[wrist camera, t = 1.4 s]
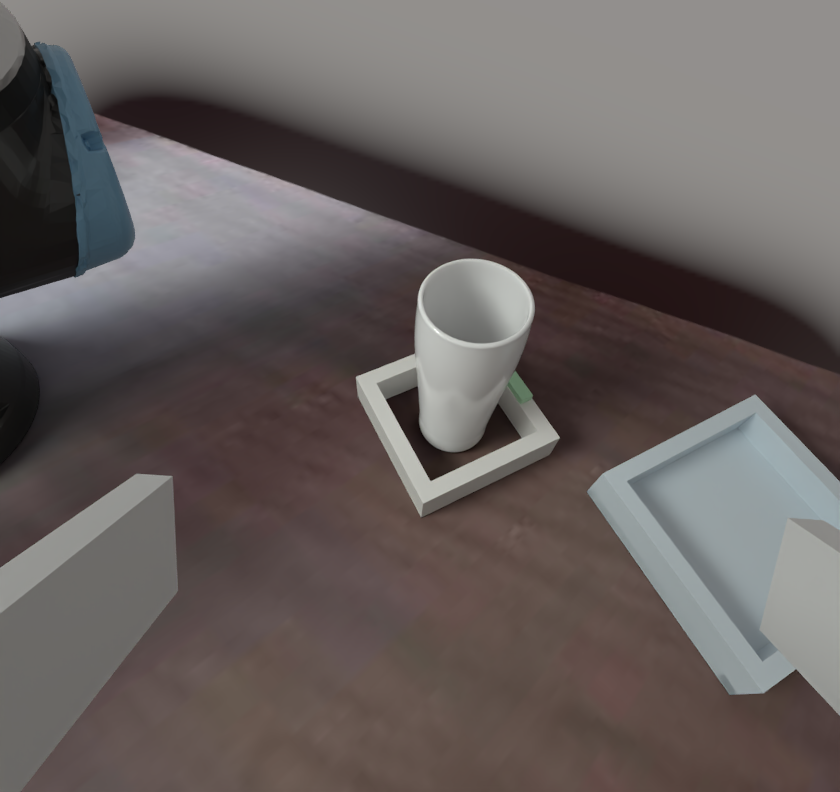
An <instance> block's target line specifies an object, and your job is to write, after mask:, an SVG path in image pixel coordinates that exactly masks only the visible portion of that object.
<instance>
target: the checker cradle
mask: <svg viewBox="0 0 840 792" xmlns="http://www.w3.org/2000/svg"><path fill="white" fill-rule="evenodd" d="M356 383H357V392H358V398H359V400H360V401H361V403H362V405H363V407H364V409H365V411H366V413H367V415H368V417H369V419H370V421H371V423H372V424H373V426H374V428H375V430H376V432H377V434H378V436H379V438H380V440H381V442H382V444H383V446H384V447H385V449H386V451H387V453H388V455H389V457H390V459H391V461H392V463H393V465H394V467H395V469H396V470H397V472H398V474H399V476H400V478H401V480H402V482H403V484H404V486H405V488H406V490H407V491H408V493H409V495H410V497H411V499H412V501H413V503H414V505H415V507H416V509H417V511H418V513H419V514H420V516H421V517H424V516H426V515H428V514H430V513H432V512H434V511H436V510H438V509H440V508H442V507H444V506H446V505H448V504H450V503H452V502H454V501H456V500H458V499H460V498H462V497H464V496H466V495H469V494H471V493H473V492H475V491H477V490H479V489H481V488H483V487H485V486H487V485H489V484H491V483H493V482H495V481H497V480H499V479H501V478H503V477H505V476H507V475H509V474H511V473H513V472H516V471H518V470H520V469H522V468H524V467H526V466H528V465H530V464H532V463H534V462H536V461H538V460H540V459H542V458H544V457H546V456H548V455H550V453H551V452H552V450H553V449H554V447H555V445H556V444H557V442H558V440H559V439H560V437H559V436H558V434H557V433H556V431H555V430H554V429H553V427H552V426H551V424H550V423H549V422H548V420H547V419H546V417H545V416H544V415H543V413H542V412H541V410H540V409H539V408H538V406H537V405H536V403H535V402H534V401H533V399H532V397H533V395H532V393H531V392H530V390H529V389H528V388H527V386H526V385H525V383H524V382H523V381H522V379H521V378H520V377H519V375H518V374H517V372H516V371H515V372H514V373H513V375H512V377H511V379H510V381H509V383H508V385H507V387H506V389H505V391H504V392H503V394H502V396H501V398H500V400H499V402H498V404H499V405H500V407H501V408H502V410H503V411H504V413H505V414H506V416H507V417H508V419H509V420H510V422H511V423H512V425H513V426H514V427H515V429H516V430H517V432H518V433H519V435H520V436H521V438H522V439H520V440H517V441H515V442H513V443H511V444H509V445H507V446H505V447H503V448H500V449H498V450H496V451H494V452H492V453H490V454H488V455H486V456H483V457H481V458H479V459H477V460H475V461H473V462H471V463H469V464H466V465H464V466H462V467H460V468H458V469H456V470H454V471H452V472H449V473H447V474H445V475H443V476H441V477H439V478H437V479H435V480H432V481H430V480H429V478H428V476H427V474H426V472H425V471H424V469H423V467H422V465H421V463H420V461H419V460H418V458H417V456H416V454H415V452H414V451H413V449H412V447H411V445H410V443H409V442H408V440H407V438H406V436H405V434H404V432H403V431H402V429H401V427H400V425H399V423H398V422H397V420H396V418H395V416H394V414H393V412H392V411H391V409H390V407H389V405H388V403H387V402H386V400H385V399H388V398H390V397H393V396H395V395H398V394H400V393H402V392H405V391H407V390H410V389H412V388H415V387H417V386H418V383H417V372H416V360H415V354H413V355H411V356H408V357H406V358H403V359H401V360H398V361H395V362H393V363H390V364H388V365H385V366H383V367H380V368H378V369H375V370H372V371H370V372H367V373H365V374H362V375H360V376H357V377H356Z"/></svg>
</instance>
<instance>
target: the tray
mask: <svg viewBox="0 0 840 792" xmlns="http://www.w3.org/2000/svg"><path fill="white" fill-rule="evenodd" d="M587 493H588V494H589V496H590V497H591V498H592V500H593V501H594V503H595V504H596V506H597V507H598V508H599V510H600V511H601V513H602V514H603V516H604V517H605V518H606V520H607V521H608V523H609V524H610V525H611V527H612V528H613V530H614V531H615V533H616V534H617V535H618V537H619V538H620V540H621V541H622V543H623V544H624V545H625V547H626V548H627V550H628V551H629V553H630V554H631V555H632V557H633V558H634V560H635V561H636V562H637V564H638V565H639V567H640V568H641V570H642V571H643V572H644V574H645V575H646V577H647V578H648V580H649V581H650V582H651V584H652V585H653V587H654V588H655V590H656V591H657V592H658V594H659V595H660V597H661V598H662V599H663V601H664V602H665V604H666V605H667V607H668V608H669V609H670V611H671V612H672V614H673V615H674V617H675V618H676V619H677V621H678V622H679V624H680V625H681V627H682V628H683V629H684V631H685V632H686V634H687V635H688V636H689V638H690V639H691V641H692V642H693V644H694V645H695V646H696V648H697V649H698V651H699V652H700V654H701V655H702V656H703V658H704V659H705V661H706V662H707V663H708V665H709V666H710V668H711V669H712V671H713V672H714V673H715V675H716V676H717V678H718V679H719V681H720V682H721V683H722V685H723V686H724V688H725V689H726V691H727V692H728V693H729V695H735V694H759V693H764V692H766V691H767V690H768V689H770V688H771V687H773V686H774V685H775V684H777V683H778V682H779V681H781V680H782V679H783V678H785V677H786V676H787V675H789V674H790V673H791V672H793V671H794V670H795V669H796V668H795V667H794V666H793V665H792V664H791V663H790V662H789V661H788V660H787V659H786V658H785V657H784V656H783V654H782V653H781V652H780V651H779V650H778V649H777V648H776V647H775V646H774V645H773V644H772V643H771V642H770V641H769V640H768V638H767V637H766V636H765V635H764V634H763V633H762V632H761V631H760V626H761V622H762V618H763V614H764V610H765V606H766V602H767V598H768V594H769V590H770V586H771V582H772V578H773V574H774V570H775V566H776V562H777V558H778V554H779V550H780V546H781V542H782V538H783V535H784V531H785V527H786V523H787V519H788V518H798V519H813V520H824V521H826V522H827V523H829V524H830V525H832V526H834V527H835V528H837V529H838V530H840V481H839V480H838V479H837V478H836V477H835V476H834V475H833V474H832V473H831V472H830V471H829V470H828V469H827V468H826V467H825V466H824V465H823V464H822V463H821V462H820V461H819V460H818V459H817V458H816V457H815V456H814V455H813V454H812V452H811V451H810V450H809V449H808V448H807V447H806V446H805V445H804V444H803V443H802V442H801V441H800V440H799V439H798V438H797V437H796V436H795V435H794V434H793V433H792V432H791V431H790V430H789V429H788V428H787V427H786V426H785V425H784V424H783V423H782V421H781V420H780V419H779V418H778V417H777V416H776V415H775V414H774V413H773V412H772V411H771V410H770V409H769V408H768V407H767V406H766V405H765V404H764V403H763V402H762V401H761V400H760V399H759V398H758V397H757V396H756V395H754V396H752V397H750V398H748V399H746V400H744V401H742V402H740V403H738V404H736V405H734V406H732V407H730V408H728V409H727V410H725V411H723V412H721V413H719V414H717V415H715V416H713V417H711V418H709V419H707V420H705V421H703V422H701V423H700V424H698V425H696V426H694V427H692V428H690V429H688V430H686V431H684V432H682V433H680V434H678V435H676V436H674V437H673V438H671V439H669V440H667V441H665V442H663V443H661V444H659V445H657V446H655V447H653V448H651V449H649V450H647V451H646V452H644V453H642V454H640V455H638V456H636V457H634V458H632V459H630V460H628V461H626V462H624V463H622V464H620V465H618V466H617V467H615V468H613V469H611V470H609V471H607V472H605V473H603V474H602V475H601V476H600V477H599V478H598V480H597V481H596V482H595V483H594V484H593V485H592V486H591V487H590V489H589V490H588V491H587Z"/></svg>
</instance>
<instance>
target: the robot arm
mask: <svg viewBox="0 0 840 792" xmlns="http://www.w3.org/2000/svg"><path fill="white" fill-rule="evenodd" d="M134 240H135V229H134V225H133V222H132V218H131V215H130V212H129V209H128V206H127V203H126V200H125V197H124V194H123V191H122V189H121V186H120V183H119V180H118V178H117V175H116V172H115V169H114V167H113V164H112V162H111V159H110V156H109V154H108V151H107V149H106V146H105V145H104V143H103V140H102V135H101V133H100V130H99V128H98V125H97V123H96V119H95V116H94V113H93V111H92V108H91V105H90V103H89V100H88V98H87V95H86V93H85V90H84V88H83V85H82V83H81V80H80V78H79V76H78V73H77V71H76V69H75V66H74V64H73V62H72V59H71V57H70V56H69V55H68V53H67V51H66V50H64V49H63V48H61V47H60V46H57V45H47V44H45V43H42V44H40V42H36V43H34V45H33V46H31V45H30V43H29V41H28V39H27V37H26V36H25V34H24V32H23V30H22V29H21V27H20V25H19V23H18V22H17V20H16V18H15V17H14V16H13V15H12V14H11V12H10V11H9V10H8V9H7V8H6V7H5V6H4V5H3V4H2V3H1V2H0V298H2V297H5V296H9V295H12V294H15V293H19V292H22V291H26V290H29V289H32V288H36V287H39V286H42V285H46V284H49V283H53V282H56V281H59V280H63V279H66V278H70V277H73V276H74V277H78V276H80V275H83V274H84V273H85V271H86V270H89V269H92V268H94V267H97V266H100V265H102V264H105V263H108V262H110V261H113V260H116V259H118V258H121V257H122V256H123V255H125V254H126V253H127V252H128V250H129V249H131V247H132V246H133V243H134ZM38 401H39V382H38V378H37V375H36V372H35V370H34V368H33V367H32V365H31V364H30V362H29V361H28V360H27V359H26V358H25V357H24V356H23V355H22V354H21V353H20V352H19V351H18V350H17V349H16V348H14V347H13V346H12V345H11V344H10V343H9V342H8V341H6V340H5V339H3V338H2V337H0V464H1V463H2V462H3V461H4V460H5V459H6V458H7V457H8V456H9V455H10V453H11V452H12V451H13V450H14V449H15V448H16V446H17V445H18V444H19V443H20V441H21V440H22V438H23V437H24V435H25V434H26V432H27V431H28V429H29V427H30V425H31V423H32V421H33V419H34V416H35V413H36V410H37V406H38ZM177 592H178V582H177V561H176V539H175V518H174V496H173V476H161V475H146V474H136V475H134V476H133V477H131V478H130V479H128V480H127V481H125V482H124V483H123V484H121V485H120V486H118V487H117V488H115V489H114V490H112V491H111V492H109V493H108V494H107V495H105V496H104V497H102V498H101V499H99V500H98V501H96V502H95V503H94V504H92V505H91V506H89V507H88V508H86V509H85V510H83V511H82V512H80V513H79V514H78V515H76V516H75V517H73V518H72V519H70V520H69V521H67V522H66V523H64V524H63V525H62V526H60V527H59V528H57V529H56V530H54V531H53V532H51V533H50V534H49V535H47V536H46V537H44V538H43V539H41V540H40V541H38V542H37V543H35V544H34V545H33V546H31V547H30V548H28V549H27V550H25V551H24V552H22V553H21V554H20V555H18V556H17V557H15V558H14V559H12V560H11V561H9V562H8V563H6V564H5V565H4V566H2V567H1V568H0V792H21V790H22V789H23V788H24V787H25V785H26V784H27V783H28V781H29V780H30V779H31V778H32V776H33V775H34V774H35V773H36V771H37V770H38V769H39V767H40V766H41V765H42V764H43V762H44V761H45V760H46V759H47V757H48V756H49V755H50V753H51V752H52V751H53V750H54V748H55V747H56V746H57V745H58V743H59V742H60V741H61V739H62V738H63V737H64V736H65V734H66V733H67V732H68V730H69V729H70V728H71V727H72V725H73V724H74V723H75V722H76V720H77V719H78V718H79V716H80V715H81V714H82V713H83V711H84V710H85V709H86V708H87V706H88V705H89V704H90V702H91V701H92V700H93V699H94V697H95V696H96V695H97V694H98V692H99V691H100V690H101V688H102V687H103V686H104V685H105V683H106V682H107V681H108V679H109V678H110V677H111V676H112V674H113V673H114V672H115V671H116V669H117V668H118V667H119V665H120V664H121V663H122V662H123V660H124V659H125V658H126V657H127V655H128V654H129V653H130V651H131V650H132V649H133V648H134V646H135V645H136V644H137V643H138V641H139V640H140V639H141V637H142V636H143V635H144V634H145V632H146V631H147V630H148V628H149V627H150V626H151V625H152V623H153V622H154V621H155V620H156V618H157V617H158V616H159V614H160V613H161V612H162V611H163V609H164V608H165V607H166V606H167V604H168V603H169V602H170V600H171V599H172V598H173V597H174V595H175V594H176V593H177ZM760 631H761V632H762V633H763V634H764V635H765V636H766V637H767V638H768V640H769V641H770V642H771V643H772V644H773V645H774V646H775V647H776V648H777V649H778V650H779V651H780V652H781V653H782V654H783V656H784V657H785V658H786V659H787V660H788V661H789V662H790V663H791V664H792V665H793V666H794V667H795V668H796V669H797V671H798V672H799V673H800V674H801V675H802V676H803V677H804V678H805V679H806V680H807V681H808V682H809V683H810V684H811V686H812V687H813V688H814V689H815V690H816V691H817V692H818V693H819V694H820V695H821V696H822V697H823V698H824V699H825V700H826V702H827V703H828V704H829V705H830V706H831V707H832V708H833V709H834V710H835V711H836V712H837V713H838V714H839V715H840V530H838V529H837V528H835V527H834V526H832V525H830V524H829V523H827V522H826V521H824V520H813V519H798V518H788V519H787V523H786V527H785V531H784V535H783V538H782V542H781V546H780V550H779V554H778V558H777V562H776V566H775V570H774V574H773V578H772V582H771V586H770V590H769V594H768V598H767V602H766V606H765V610H764V614H763V618H762V622H761V626H760Z"/></svg>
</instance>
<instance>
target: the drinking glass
mask: <svg viewBox="0 0 840 792" xmlns="http://www.w3.org/2000/svg"><path fill="white" fill-rule="evenodd" d="M534 313H535V303H534V298H533V295H532V293H531V291H530V289H529V287H528V285H527V284H526V283H525V282H524V280H523V279H522V278H521V277H520V276H518V275H517V274H516V273H515V272H513V271H512V270H510V269H509V268H507V267H505V266H503V265H500V264H498V263H495V262H492V261H488V260H482V259H460V260H455V261H451V262H448V263H446V264H443V265H441V266H439V267H438V268H436V269H435V270H433V271H432V272H431V273H430V274H429V275H428V276H427V277H426V278H425V280H424V281H423V283H422V285H421V287H420V290H419V294H418V301H417V308H416V318H415V334H414V344H415V360H416V372H417V383H418V395H419V409H420V411H419V426H420V429H421V432H422V434H423V436H424V437H425V439H426V440H427V441H428V442H429V443H430V444H431V445H432V446H434V447H436V448H437V449H440V450H442V451H446V452H461V451H465V450H468V449H470V448H472V447H473V446H475V445H476V444H477V443H478V442H479V441H480V439H481V438H482V436H483V434H484V432H485V429H486V426H487V423H488V421H489V419H490V417H491V415H492V413H493V412H494V410H495V408H496V406H497V404H498V402H499V400H500V398H501V396H502V394H503V392H504V391H505V389H506V387H507V385H508V383H509V381H510V379H511V377H512V375H513V373H514V372H515V369H516V367H517V365H518V363H519V361H520V358H521V356H522V353H523V351H524V348H525V345H526V342H527V339H528V336H529V332H530V329H531V325H532V321H533V318H534Z"/></svg>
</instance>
